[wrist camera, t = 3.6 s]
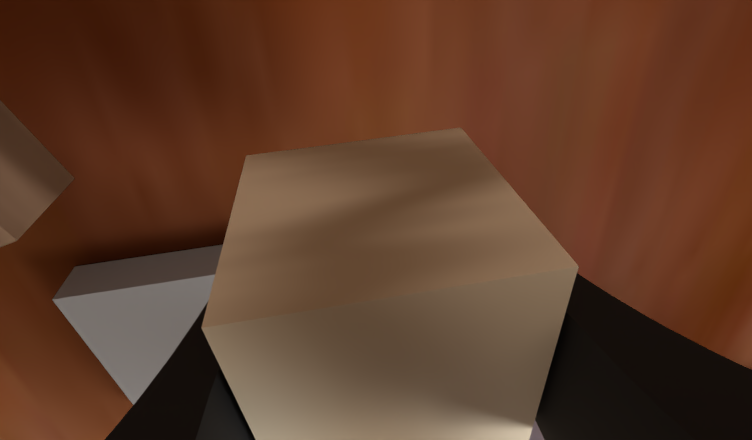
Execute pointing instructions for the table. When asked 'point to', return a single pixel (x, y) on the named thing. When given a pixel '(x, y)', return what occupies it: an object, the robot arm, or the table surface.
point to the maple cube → (386, 294)
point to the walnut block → (25, 178)
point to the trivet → (138, 309)
